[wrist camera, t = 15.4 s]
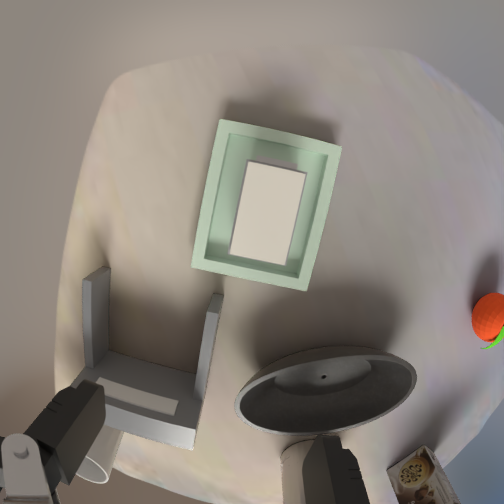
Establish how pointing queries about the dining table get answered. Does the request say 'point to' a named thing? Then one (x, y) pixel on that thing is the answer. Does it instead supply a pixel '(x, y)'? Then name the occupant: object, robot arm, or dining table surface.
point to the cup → (101, 455)
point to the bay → (143, 375)
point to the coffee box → (421, 480)
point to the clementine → (489, 318)
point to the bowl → (325, 390)
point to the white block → (267, 210)
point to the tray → (227, 193)
